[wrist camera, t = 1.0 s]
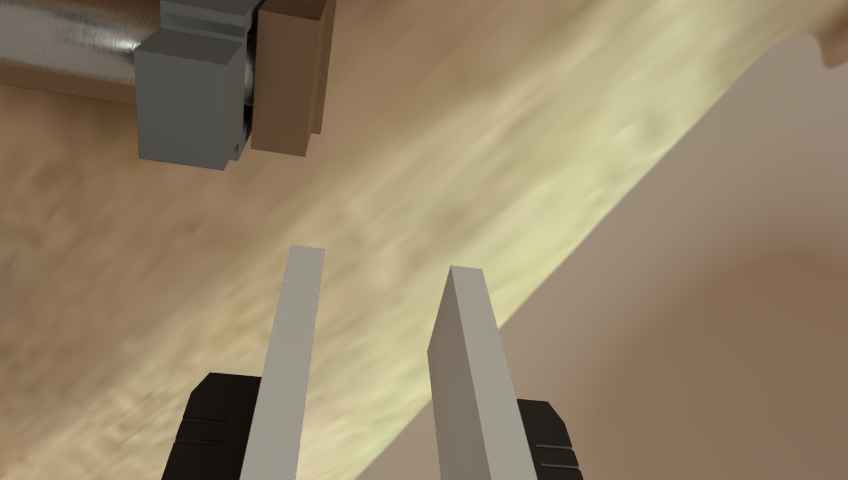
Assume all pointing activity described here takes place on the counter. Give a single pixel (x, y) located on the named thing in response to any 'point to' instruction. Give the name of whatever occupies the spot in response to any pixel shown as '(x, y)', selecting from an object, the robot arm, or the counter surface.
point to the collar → (195, 83)
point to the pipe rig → (139, 19)
